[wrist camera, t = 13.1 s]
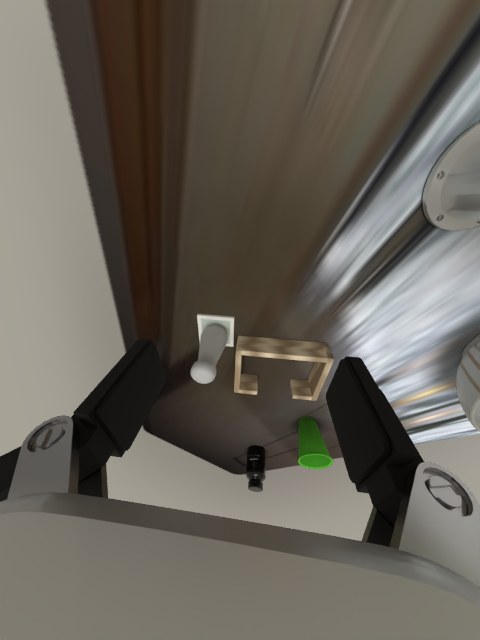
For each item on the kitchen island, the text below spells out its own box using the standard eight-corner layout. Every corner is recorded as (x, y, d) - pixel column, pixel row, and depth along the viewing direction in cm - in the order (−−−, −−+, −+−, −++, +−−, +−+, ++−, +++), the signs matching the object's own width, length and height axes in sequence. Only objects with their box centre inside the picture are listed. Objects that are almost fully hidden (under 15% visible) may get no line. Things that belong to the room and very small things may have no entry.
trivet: (234, 316, 40) (234, 318, 40) (233, 345, 45) (233, 346, 44) (197, 313, 41) (196, 315, 40) (200, 342, 45) (199, 343, 45)
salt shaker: (214, 345, 44) (200, 392, 34) (198, 328, 42) (177, 373, 31) (234, 334, 42) (225, 381, 31) (218, 316, 40) (202, 360, 29)
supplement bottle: (255, 443, 70) (254, 484, 60) (268, 449, 72) (270, 490, 62) (243, 449, 74) (241, 488, 63) (257, 455, 75) (257, 494, 65)
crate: (326, 343, 42) (334, 359, 38) (311, 383, 50) (316, 400, 46) (238, 335, 43) (235, 350, 39) (236, 376, 51) (234, 392, 47)
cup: (325, 426, 60) (337, 467, 51) (297, 430, 63) (304, 470, 54) (316, 410, 56) (328, 452, 47) (287, 416, 59) (293, 457, 50)
